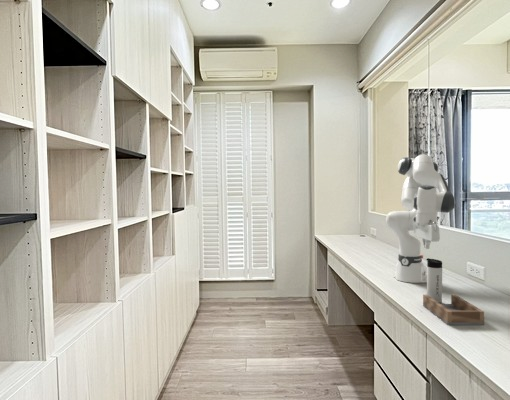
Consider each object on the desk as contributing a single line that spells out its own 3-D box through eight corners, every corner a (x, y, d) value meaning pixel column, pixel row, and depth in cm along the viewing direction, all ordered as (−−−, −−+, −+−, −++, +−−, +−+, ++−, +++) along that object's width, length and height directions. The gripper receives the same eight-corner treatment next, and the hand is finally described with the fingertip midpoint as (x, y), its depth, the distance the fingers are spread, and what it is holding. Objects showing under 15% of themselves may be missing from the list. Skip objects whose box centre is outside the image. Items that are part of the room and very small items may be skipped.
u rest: (423, 306, 166) (423, 294, 166) (454, 305, 166) (455, 294, 165) (447, 325, 144) (447, 311, 144) (484, 324, 144) (484, 311, 143)
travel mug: (428, 299, 175) (428, 257, 174) (443, 302, 171) (443, 259, 170) (424, 302, 170) (424, 259, 169) (439, 305, 166) (440, 261, 165)
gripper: (443, 221, 167) (443, 252, 167) (424, 217, 187) (423, 245, 188) (429, 221, 167) (429, 252, 168) (411, 217, 188) (411, 245, 188)
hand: (426, 248), depth 178 cm, fingers closed
